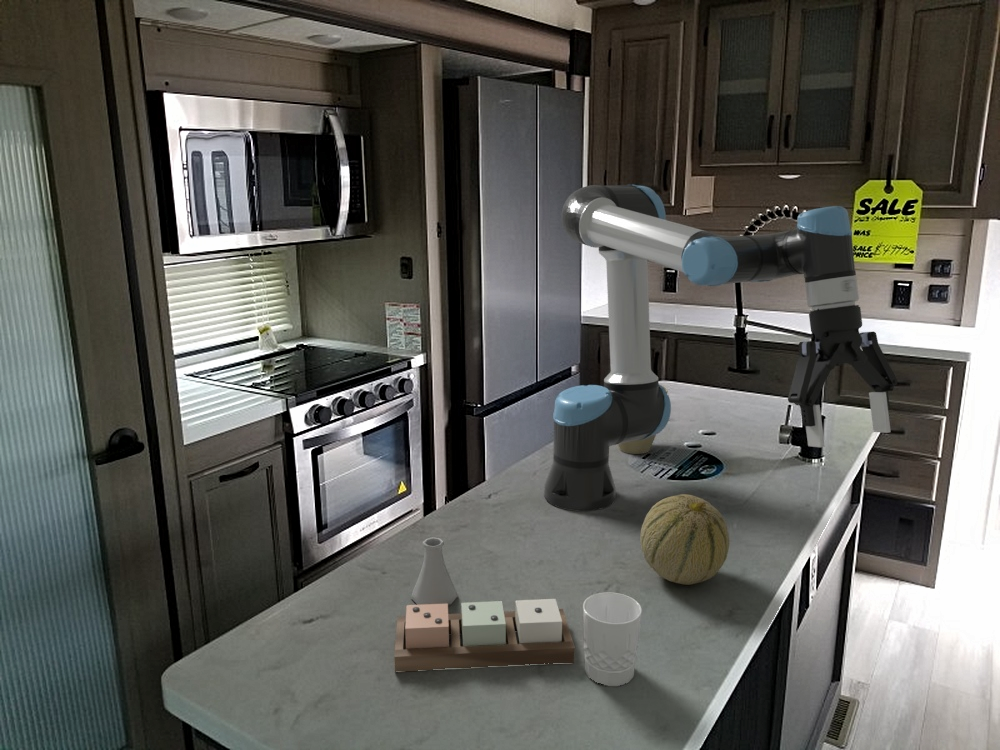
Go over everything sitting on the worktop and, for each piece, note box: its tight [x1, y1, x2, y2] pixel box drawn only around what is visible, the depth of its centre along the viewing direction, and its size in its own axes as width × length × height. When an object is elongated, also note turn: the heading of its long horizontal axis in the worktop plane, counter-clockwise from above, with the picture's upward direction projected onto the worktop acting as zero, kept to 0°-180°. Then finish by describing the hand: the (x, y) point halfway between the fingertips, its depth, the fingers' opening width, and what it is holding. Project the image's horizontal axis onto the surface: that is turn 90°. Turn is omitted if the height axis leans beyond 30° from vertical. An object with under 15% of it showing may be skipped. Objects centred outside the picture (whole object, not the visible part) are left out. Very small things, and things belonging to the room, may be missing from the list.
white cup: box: [582, 591, 643, 687], centre depth 105 cm, size 8×8×10 cm
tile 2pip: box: [460, 600, 506, 647], centre depth 111 cm, size 6×6×3 cm
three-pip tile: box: [405, 603, 450, 649], centre depth 110 cm, size 6×6×3 cm
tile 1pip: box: [514, 598, 562, 644], centre depth 111 cm, size 6×6×3 cm
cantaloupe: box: [639, 493, 731, 586], centre depth 129 cm, size 15×15×15 cm
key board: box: [393, 608, 576, 673], centre depth 111 cm, size 10×25×2 cm, turn 95°
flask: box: [410, 536, 459, 606], centre depth 123 cm, size 7×7×10 cm
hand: (849, 439), depth 122 cm, fingers open, 13 cm apart
